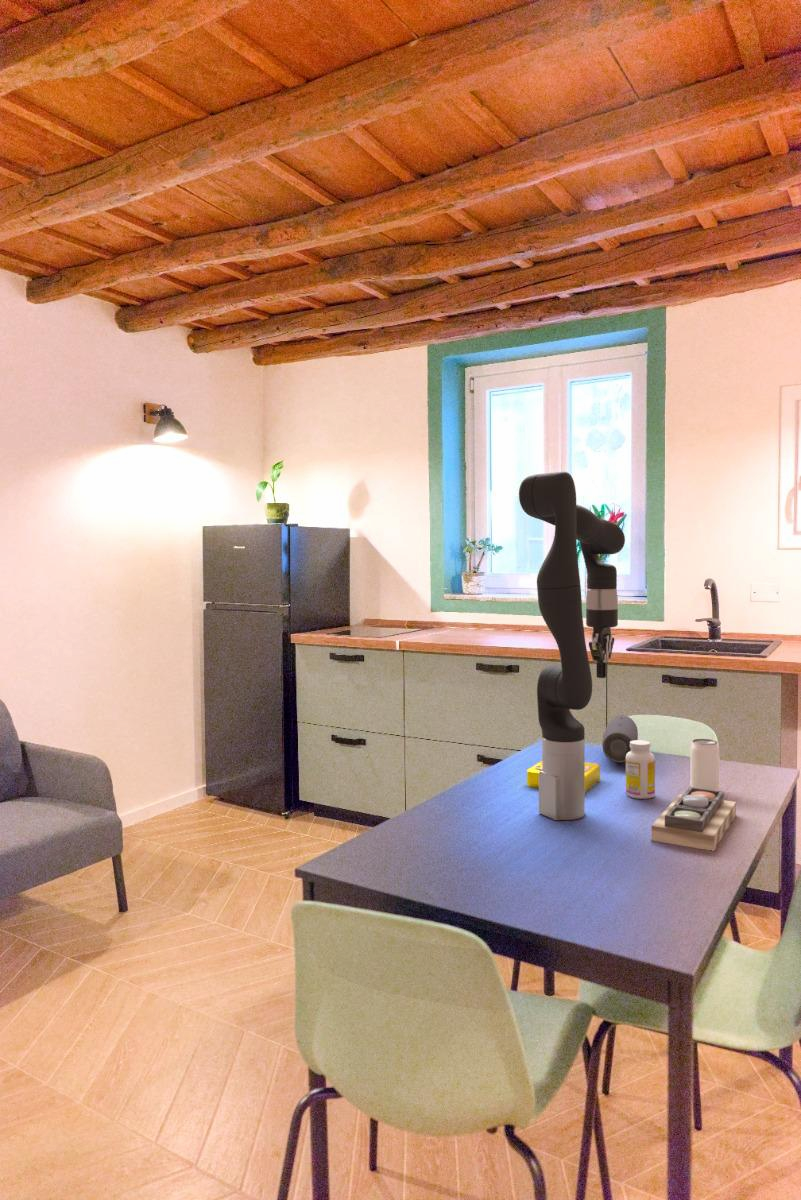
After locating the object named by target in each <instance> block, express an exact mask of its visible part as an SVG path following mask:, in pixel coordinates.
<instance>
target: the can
mask: <svg viewBox="0 0 801 1200" xmlns="http://www.w3.org/2000/svg"><path fill="white" fill-rule="evenodd" d="M689 771H690V778H689V780H690V781H689V782H690V786H689V787H694V788H701V789H708V790H716V791H720V748H719V745H718V741H717V740H715V739H712V738H711V739H709V738H694V739H692V744H691V745H690V770H689Z"/></svg>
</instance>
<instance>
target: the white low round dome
mask: <svg viewBox="0 0 801 1200" xmlns="http://www.w3.org/2000/svg"><path fill="white" fill-rule="evenodd" d="M683 806H689V807H696V808H703V809H708V798H706V797H704V796H700V795H686V796H684V797H683Z"/></svg>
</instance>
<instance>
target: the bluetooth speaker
mask: <svg viewBox="0 0 801 1200" xmlns="http://www.w3.org/2000/svg"><path fill="white" fill-rule="evenodd" d="M602 734H603V736H602V742H601V745H602V746H601V747H602V751H603V754H604V755H605V757H606V758H607V759H609V760H610V761H612V762H614V763H626V754H627V753H628V752H630V751H631V748H630V741H633V740H639V739H638V738H639V732H638V726H637V724H636V722H635V721H634V720H633V719H632V718H631V717H629V716H627V715H616V716H614V717H613V718H612V719H610V721H609V722H608V723H607V725H606V728H605V730H604V732H603V733H602Z"/></svg>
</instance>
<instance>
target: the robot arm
mask: <svg viewBox="0 0 801 1200" xmlns="http://www.w3.org/2000/svg"><path fill="white" fill-rule="evenodd" d="M576 489H577V488H576V484H575V481H574V478H573V476H572V475H571V473H569V472H568V471H555V472H546V473H545V472H543V473H538V474H533V475H528V476H526V477H525V478H524V479H522V481H521V483H520V486H519V489H518V499H519V503H520V504H519V505H520V507H521V509H522V511H523V512H524V513H525V514H526V515H528V516H529V517H531V518H535V519H536V520H537V519H538V520H540V521H543V522H546V523H547V524H551V525H553V526H555V527H554V536H553V540H552V544H551V546H550V548H549V551H548V552H547V555H546V557H545V558H544V560H543V562H542V564H541V566H540V568H539V571H538V574H537V578H536V592H537V600H538V608H539V611H540V614H541V616H542V619H543V621H544V623H545V625H546V627H547V628H548V630H549V632H550V633H551V634H552V637H553V638H554V640H555V642H556V644H557V647H558V653H559V656H560V664H557V663H553V664H551V663H550V664H547V665H546V666H545V667H543V669H542V670H541V671H540V673H539V676H538V679H537V684H536V686H537V687H536V696H537V697H536V698H537V714H538V716H537V717H538V724H539V726H540V729H541V737H542V738H541V740H542V741H541V745H542V747H541V748H542V749H541V753H542V754H541V755H542V756H541V759H542V760H541V761H542V771H539V788H538V813H539V814H541V815H543V816H544V817H548V818H549V819H551V820H555V821H560V820H563V821H570V820H571V821H572V820H578V819H581V818H583V817H584V816H585V813H586V812H585V811H586V810H585V807H586V806H585V803H586V801H585V799H586V798H585V797H586V796H585V795H586V794H585V793H586V792H585V762H586V761H585V759H586V758H585V754H586V753H585V751H586V750H585V747H586V746H585V742H586V741H585V740H586V739H585V735H586V734H585V726H584V725H583V724H582V722H580V721H579V720H577V718H576V717H574V716H573V714H572V712H571V710H575V711H580V710H582V709H585V708H586V707H587V706H588V705H589V703H590V701H591V700H592V699H591V698H592V694H593V679H592V672H591V671H592V670H591V666H590V661H589V655H588V650H587V644H586V636H585V628H584V618H583V603H582V601H583V600H582V589H581V578H580V568H579V557H578V546H577V544H578V543H577V542H578V541H579V545H580V550H581V553H582V556H583V560H584V564H585V569H586V580H587V581H586V596H585V597H586V598H585V599H586V600H585V615H586V616H585V624H586V626H587V627H589V628H592V629H593V630H592V634H591V641H589V642H588V647H589V650H590V655H591V657H592V661H594V662H595V663H596V678H599V679H605V678H607V677H608V663H609V661H610V660H609V659H611V657H612V653H613V650H614V649H613V648H614V645H615V644H614V643H615V637H613V635H612V631H611V630H612V629H611V628H616V627H618V625H619V623H618V620H619V619H618V618H619V617H618V615H619V614H618V613H619V607H618V605H619V604H618V602H619V601H618V600H619V598H618V590H617V586H618V583H617V582H618V580H617V579H618V578H617V577H618V576H617V575H618V574H617V568H616V566H615V565H612V564H611V563H610V564H609V563H605V562H602V561H601V559H600V557H599V555H616V554H618V553H620V552H621V551H622V550H623V548H624V546H625V543H626V536H625V533H624V531H623V530H622V528H621V527H620V526H619V525H618V524H616V523H614V522H613V521H609V520H606V519H603V518H600V517H598V516H597V515H596V514H595V513H594V512H592V511H591V510H590V509H588V508H586V507H585V506H582V505H580V504H577V491H576ZM577 540H578V541H577Z"/></svg>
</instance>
